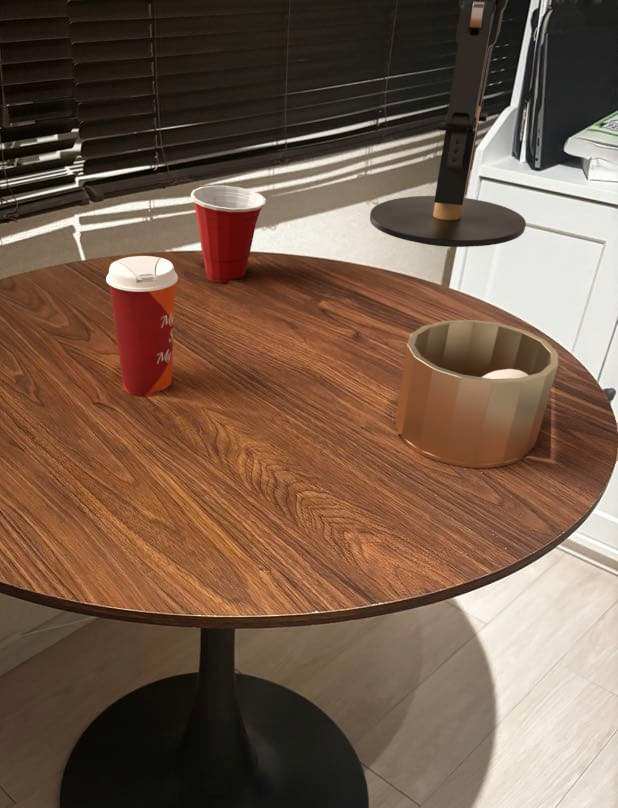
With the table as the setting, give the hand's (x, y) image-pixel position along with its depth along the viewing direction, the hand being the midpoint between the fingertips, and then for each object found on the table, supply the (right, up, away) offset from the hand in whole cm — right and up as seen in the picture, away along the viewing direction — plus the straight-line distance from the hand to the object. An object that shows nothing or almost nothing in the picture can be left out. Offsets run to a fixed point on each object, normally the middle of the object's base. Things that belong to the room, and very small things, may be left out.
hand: (450, 197), depth 81 cm
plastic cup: (-22, +5, +42) cm, 47 cm away
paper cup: (-32, -16, +14) cm, 38 cm away
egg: (+3, -22, +4) cm, 22 cm away
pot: (+3, -23, +5) cm, 24 cm away
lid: (0, -2, +2) cm, 2 cm away
